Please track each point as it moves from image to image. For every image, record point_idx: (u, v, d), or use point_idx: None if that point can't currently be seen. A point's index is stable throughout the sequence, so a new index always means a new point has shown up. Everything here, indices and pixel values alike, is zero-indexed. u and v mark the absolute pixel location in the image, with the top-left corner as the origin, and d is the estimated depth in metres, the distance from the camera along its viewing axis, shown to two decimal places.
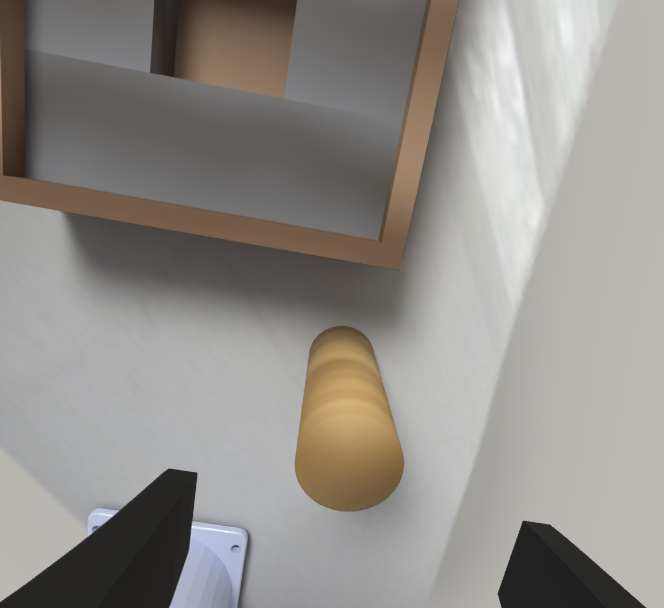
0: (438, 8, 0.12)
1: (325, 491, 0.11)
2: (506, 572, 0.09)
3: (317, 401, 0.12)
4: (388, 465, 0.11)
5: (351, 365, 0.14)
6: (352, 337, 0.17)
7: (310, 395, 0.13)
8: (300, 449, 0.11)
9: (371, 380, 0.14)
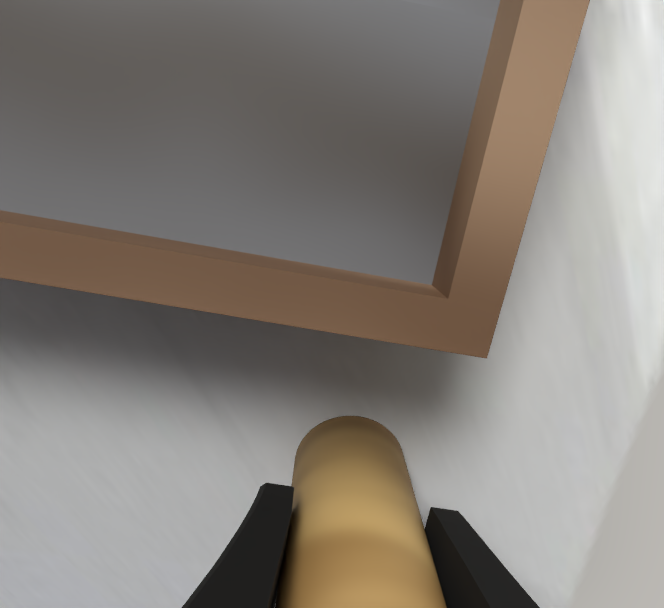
0: None
1: None
2: None
3: None
4: None
5: (376, 562, 0.07)
6: (370, 448, 0.10)
7: None
8: None
9: None
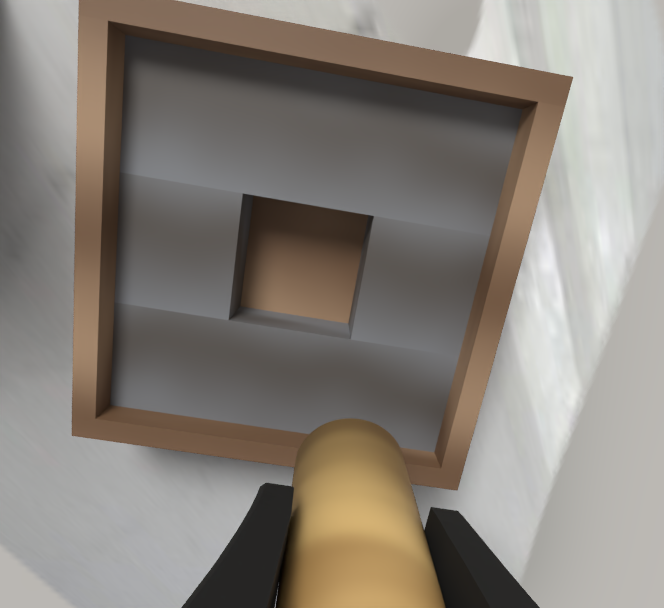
0: (498, 283, 0.13)
1: None
2: None
3: None
4: None
5: (373, 566, 0.07)
6: (368, 450, 0.10)
7: None
8: None
9: None
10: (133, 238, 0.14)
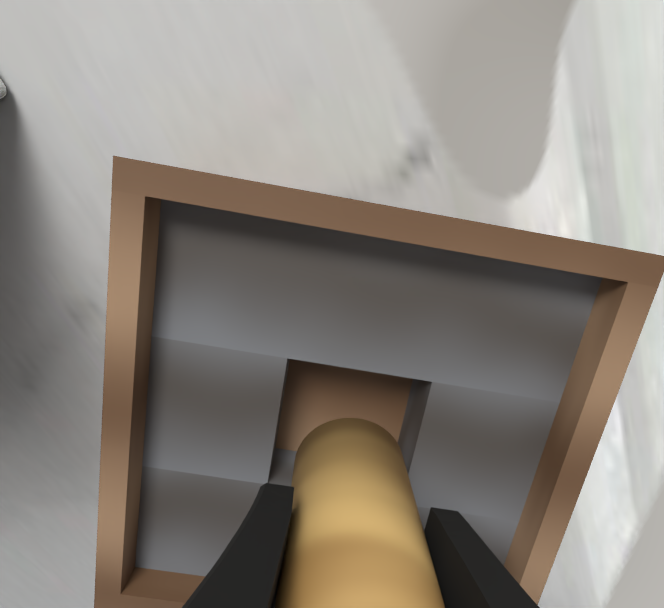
0: (571, 464, 0.12)
1: None
2: None
3: None
4: None
5: (370, 565, 0.07)
6: (367, 449, 0.10)
7: None
8: None
9: None
10: (164, 402, 0.12)
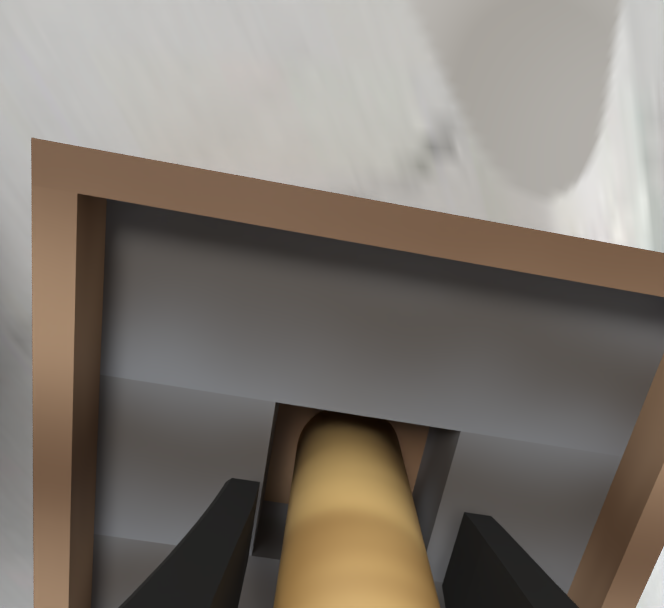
0: (642, 540, 0.09)
1: None
2: (449, 564, 0.09)
3: None
4: None
5: (364, 536, 0.07)
6: (365, 433, 0.10)
7: None
8: None
9: (408, 579, 0.07)
10: (119, 457, 0.10)
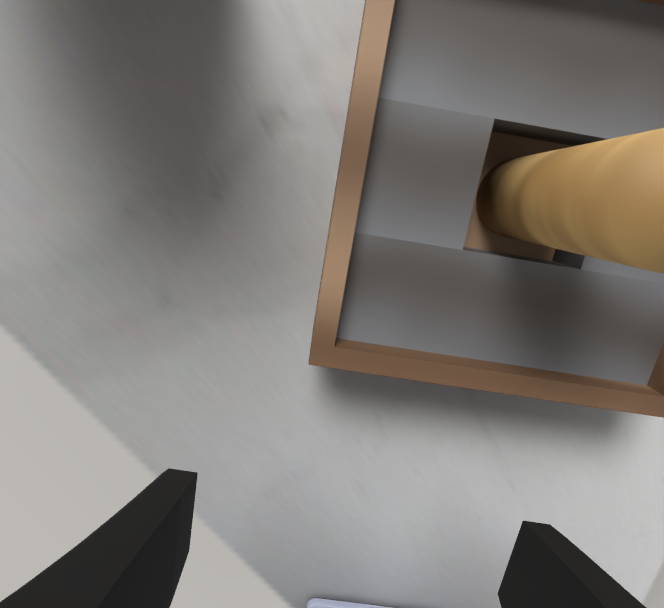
0: None
1: (645, 242, 0.09)
2: (506, 572, 0.09)
3: (599, 150, 0.09)
4: None
5: None
6: None
7: (567, 164, 0.10)
8: (621, 178, 0.08)
9: None
10: (380, 165, 0.14)
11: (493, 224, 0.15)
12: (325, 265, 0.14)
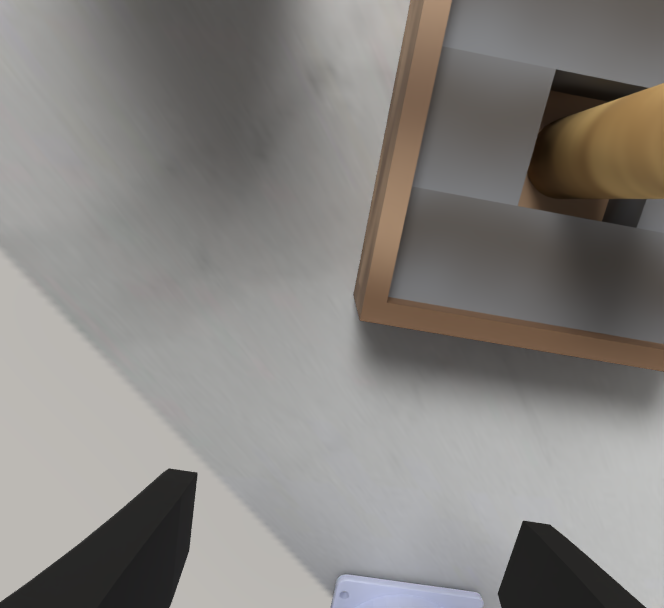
0: None
1: None
2: (506, 572, 0.09)
3: None
4: None
5: None
6: None
7: (650, 99, 0.10)
8: None
9: None
10: (437, 116, 0.14)
11: (547, 182, 0.15)
12: (381, 216, 0.13)
